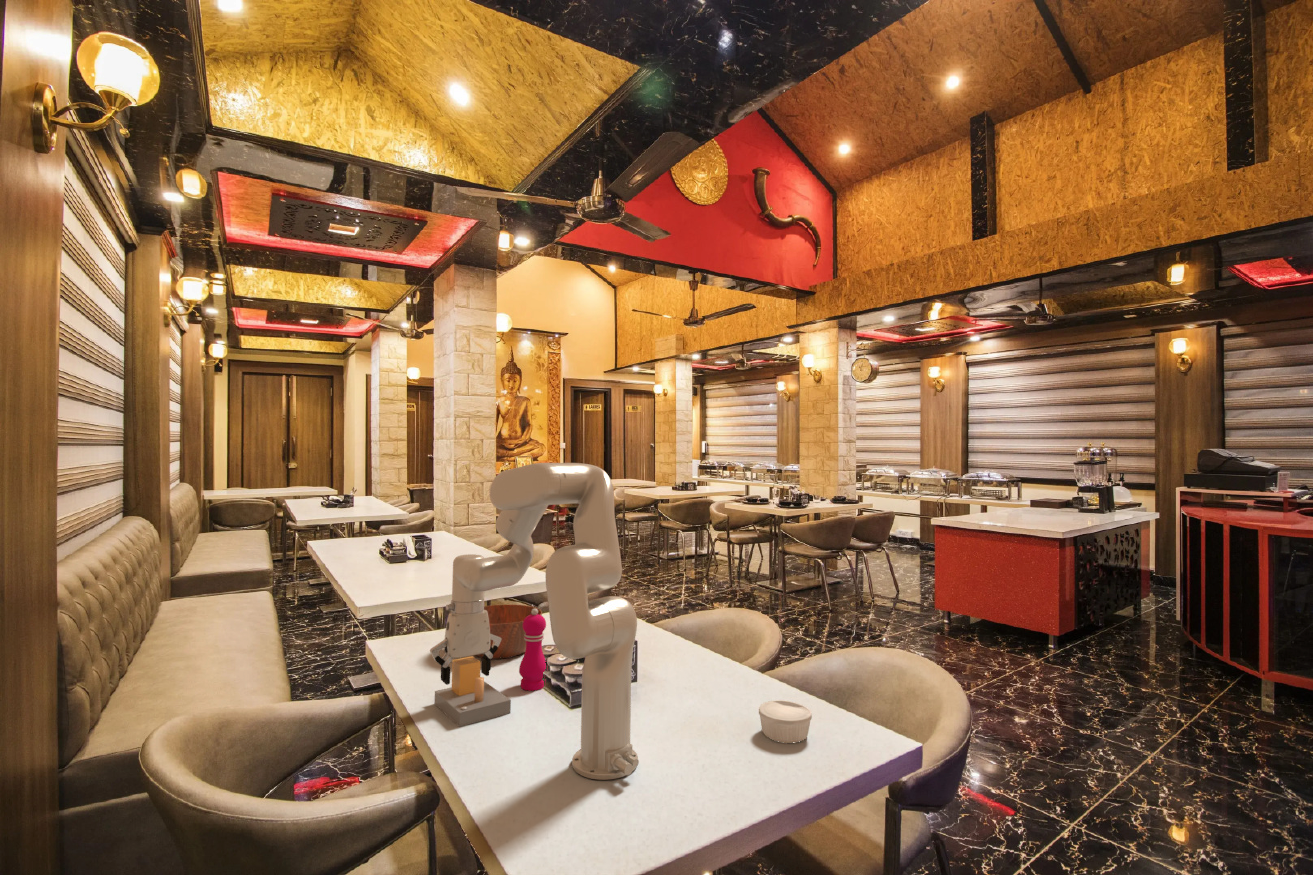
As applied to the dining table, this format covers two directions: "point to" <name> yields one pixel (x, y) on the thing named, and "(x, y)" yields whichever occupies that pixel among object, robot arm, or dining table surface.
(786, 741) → the ramekin
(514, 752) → the dining table surface
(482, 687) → the peg board base
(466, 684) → the upright wooden block
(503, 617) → the bowl
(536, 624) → the pepper mill
